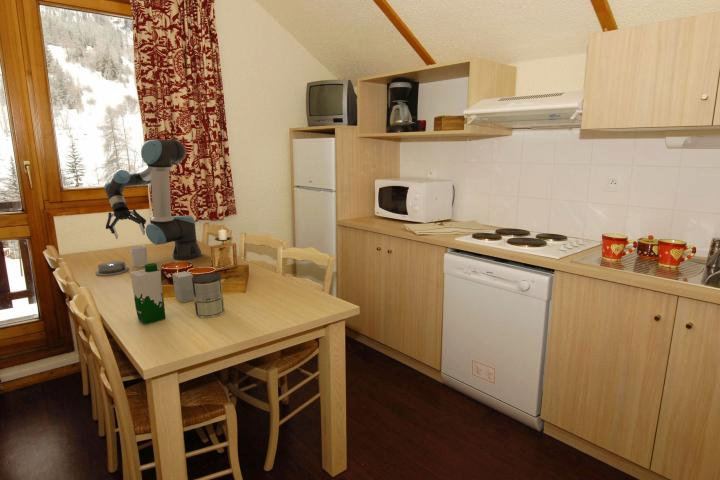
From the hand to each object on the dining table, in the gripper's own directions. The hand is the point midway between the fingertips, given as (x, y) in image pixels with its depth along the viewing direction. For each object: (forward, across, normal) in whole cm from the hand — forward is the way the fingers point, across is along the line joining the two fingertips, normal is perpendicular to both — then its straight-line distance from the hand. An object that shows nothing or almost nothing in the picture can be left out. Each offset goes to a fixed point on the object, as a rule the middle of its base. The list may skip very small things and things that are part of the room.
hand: (130, 235), depth 244 cm
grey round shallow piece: (+19, +14, -2) cm, 24 cm away
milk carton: (+78, +21, +57) cm, 99 cm away
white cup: (+18, 0, -3) cm, 18 cm away
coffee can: (+85, +4, +64) cm, 106 cm away
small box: (+69, +4, +48) cm, 84 cm away
